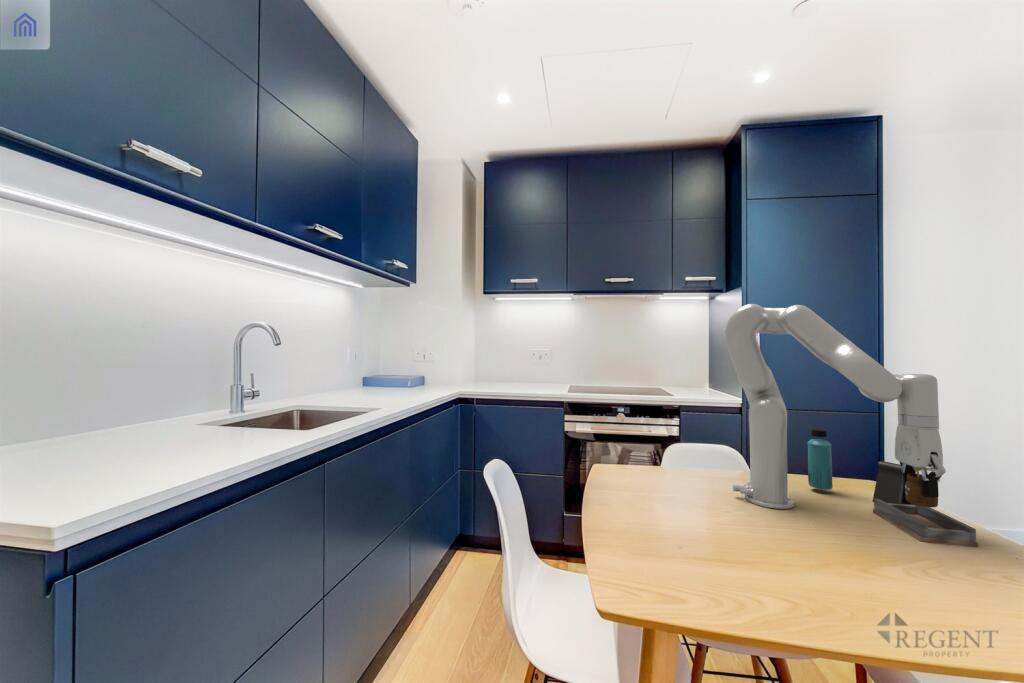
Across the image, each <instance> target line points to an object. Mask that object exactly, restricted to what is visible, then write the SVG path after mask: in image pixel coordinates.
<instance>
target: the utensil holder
mask: <svg viewBox="0 0 1024 683" xmlns="http://www.w3.org/2000/svg"><path fill="white" fill-rule="evenodd" d="M927 468H931V467H928V466H927ZM913 469H914V470H916V471H917V474H907V479H908V481H906V483H905V496H906V501H907V502H909V503H911V504H914V505H918V506H923V507H930V508H937V507H938V506H939V497H937V498H936V497H924V496H922V494H921V480H923V476H922V473H921V469H919V468H915V467H913Z"/></svg>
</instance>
